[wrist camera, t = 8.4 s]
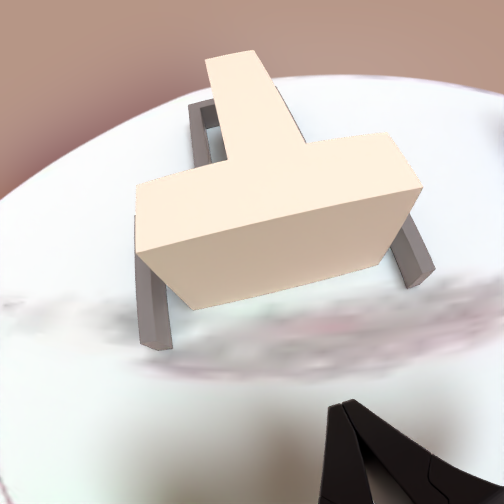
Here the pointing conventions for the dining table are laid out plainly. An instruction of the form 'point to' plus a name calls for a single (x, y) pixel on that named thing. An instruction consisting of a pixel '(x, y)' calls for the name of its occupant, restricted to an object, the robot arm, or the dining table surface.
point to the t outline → (202, 117)
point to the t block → (270, 200)
